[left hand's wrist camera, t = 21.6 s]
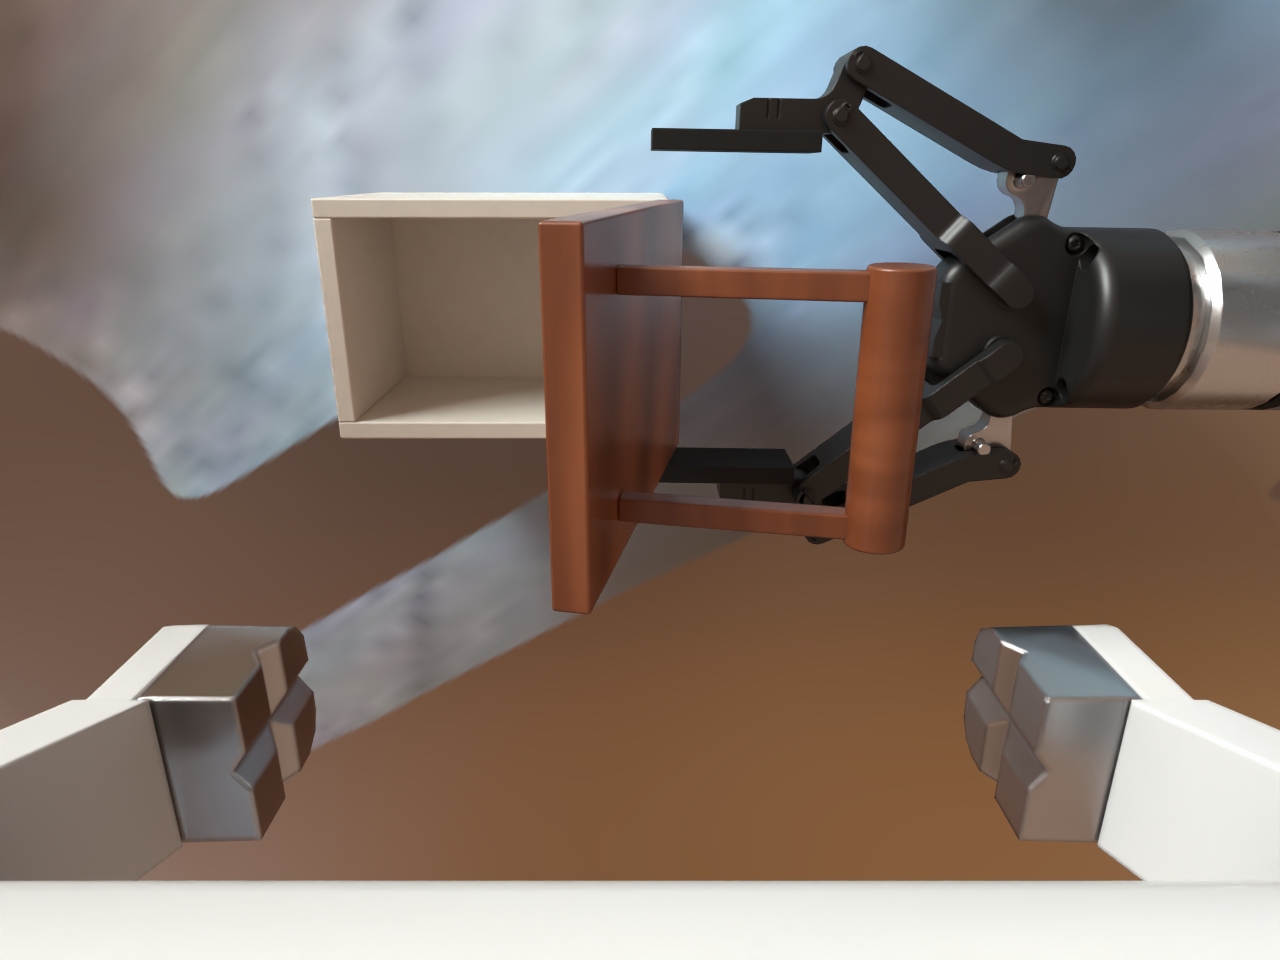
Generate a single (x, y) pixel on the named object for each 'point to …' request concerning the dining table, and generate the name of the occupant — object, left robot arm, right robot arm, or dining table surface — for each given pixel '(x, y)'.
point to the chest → (439, 309)
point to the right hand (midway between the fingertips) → (646, 312)
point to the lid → (650, 390)
